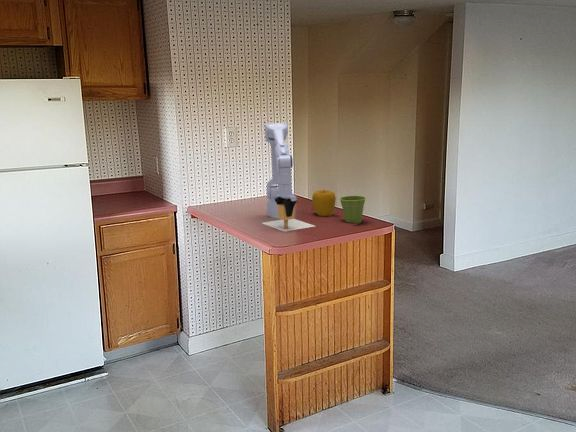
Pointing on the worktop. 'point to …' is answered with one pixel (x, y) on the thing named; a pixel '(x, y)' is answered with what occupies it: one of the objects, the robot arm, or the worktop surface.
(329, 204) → the apple
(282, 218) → the wooden toy cube
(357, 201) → the plant pot
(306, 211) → the worktop surface
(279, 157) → the robot arm
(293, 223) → the plate
